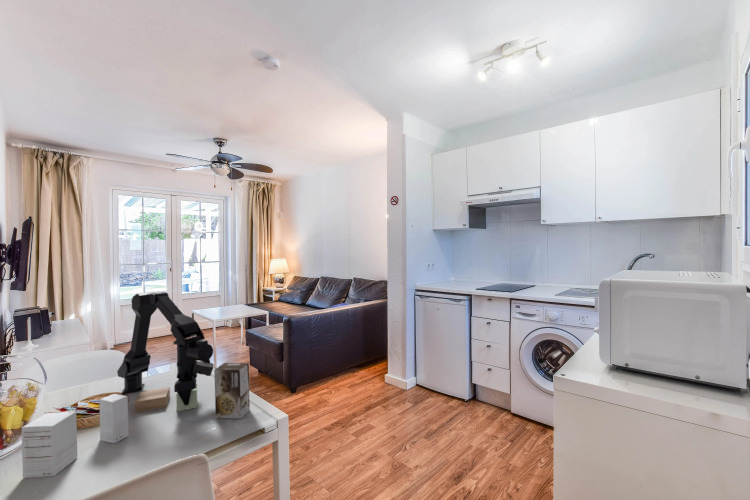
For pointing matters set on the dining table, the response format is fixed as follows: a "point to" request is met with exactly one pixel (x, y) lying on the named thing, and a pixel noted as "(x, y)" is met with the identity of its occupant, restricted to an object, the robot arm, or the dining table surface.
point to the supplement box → (49, 444)
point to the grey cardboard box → (232, 390)
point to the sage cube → (191, 402)
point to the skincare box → (113, 418)
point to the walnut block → (152, 399)
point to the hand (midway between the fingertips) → (187, 401)
